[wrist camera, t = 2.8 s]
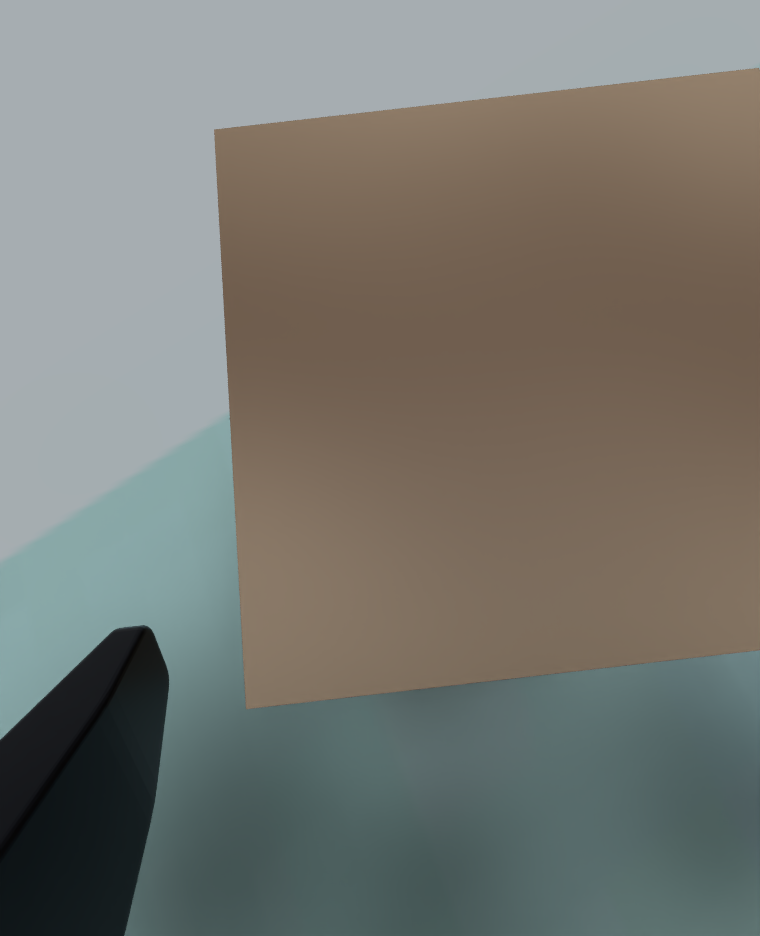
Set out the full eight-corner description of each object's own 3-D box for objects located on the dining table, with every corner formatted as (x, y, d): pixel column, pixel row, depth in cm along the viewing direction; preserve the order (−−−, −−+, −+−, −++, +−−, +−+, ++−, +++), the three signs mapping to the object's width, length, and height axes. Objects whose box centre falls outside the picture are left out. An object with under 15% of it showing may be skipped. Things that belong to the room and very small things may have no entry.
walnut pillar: (542, 631, 17) (938, 629, 5) (357, 653, 17) (245, 709, 5) (512, 453, 18) (759, 67, 6) (339, 473, 18) (214, 129, 6)
